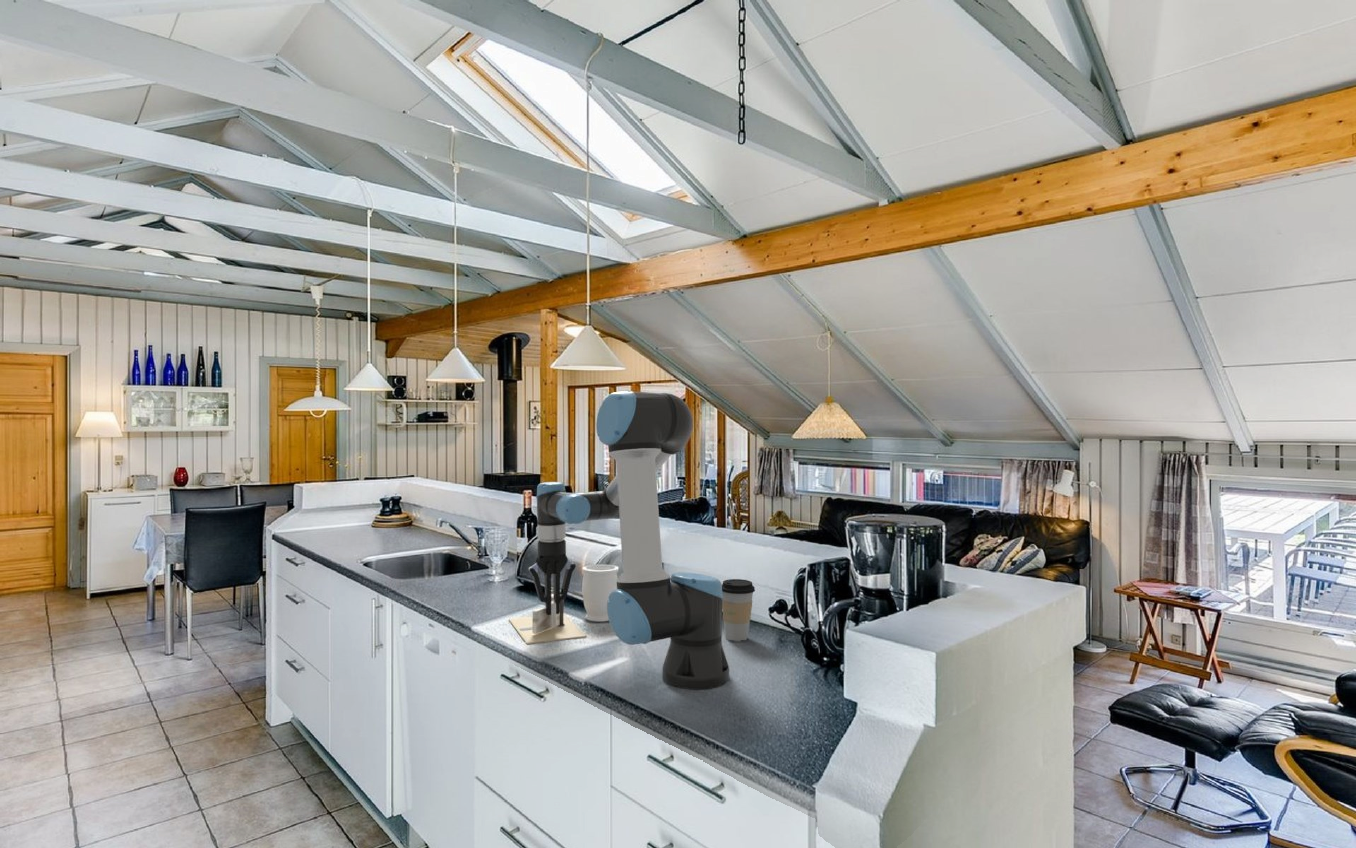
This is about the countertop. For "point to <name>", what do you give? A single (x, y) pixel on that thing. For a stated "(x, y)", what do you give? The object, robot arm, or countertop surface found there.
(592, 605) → the jar
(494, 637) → the countertop surface
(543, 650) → the countertop surface
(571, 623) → the card
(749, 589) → the coffee cup
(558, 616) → the fence flap
